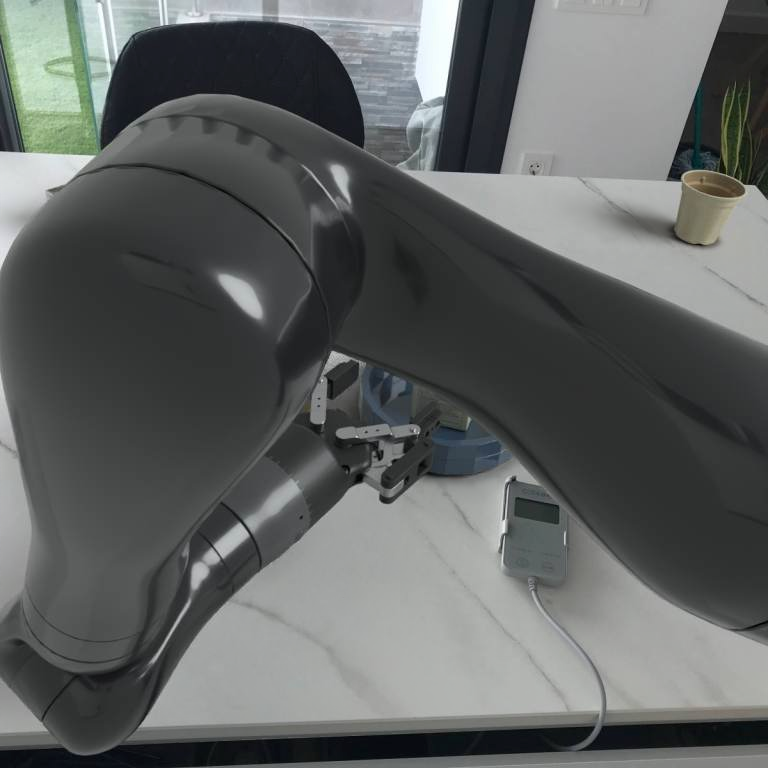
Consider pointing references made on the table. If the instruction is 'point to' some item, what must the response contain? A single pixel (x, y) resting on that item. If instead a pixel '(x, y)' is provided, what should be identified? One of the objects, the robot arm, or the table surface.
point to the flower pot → (706, 205)
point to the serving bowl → (452, 446)
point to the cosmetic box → (449, 413)
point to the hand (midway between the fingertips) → (394, 388)
